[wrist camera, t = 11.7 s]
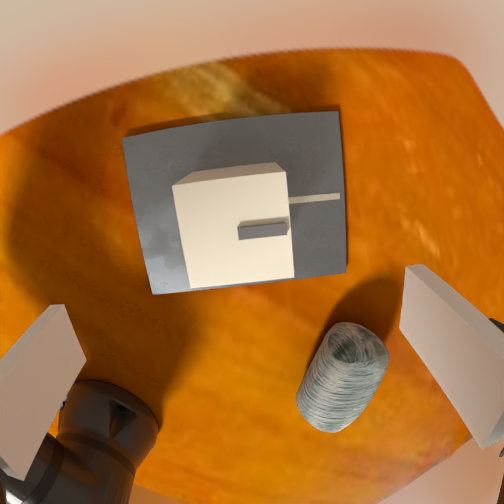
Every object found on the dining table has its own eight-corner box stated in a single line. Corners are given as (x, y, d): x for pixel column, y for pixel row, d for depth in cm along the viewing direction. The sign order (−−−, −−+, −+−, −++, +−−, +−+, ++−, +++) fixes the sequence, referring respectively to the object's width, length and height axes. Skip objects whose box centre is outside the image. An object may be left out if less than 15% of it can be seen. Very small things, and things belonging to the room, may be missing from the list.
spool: (319, 310, 31) (373, 394, 24) (376, 305, 36) (424, 370, 29) (263, 382, 38) (297, 451, 31) (319, 370, 43) (353, 428, 36)
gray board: (154, 291, 33) (141, 316, 28) (124, 138, 28) (102, 139, 23) (343, 269, 33) (360, 292, 28) (335, 111, 28) (354, 107, 23)
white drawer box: (204, 248, 31) (189, 290, 23) (192, 171, 28) (170, 186, 20) (282, 240, 31) (295, 279, 22) (274, 161, 28) (286, 172, 20)
